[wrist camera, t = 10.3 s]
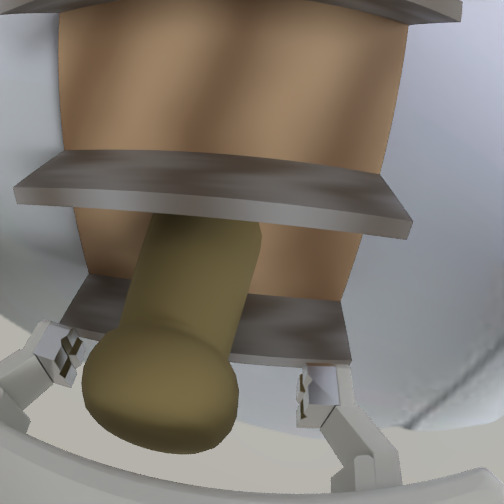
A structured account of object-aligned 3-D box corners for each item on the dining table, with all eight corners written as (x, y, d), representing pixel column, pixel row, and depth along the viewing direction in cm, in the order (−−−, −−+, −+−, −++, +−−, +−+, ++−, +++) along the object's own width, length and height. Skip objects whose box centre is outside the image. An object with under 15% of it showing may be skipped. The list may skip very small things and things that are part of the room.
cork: (163, 281, 19) (105, 454, 10) (138, 190, 16) (19, 371, 7) (265, 280, 19) (255, 475, 10) (258, 181, 15) (236, 403, 6)
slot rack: (400, 11, 11) (462, 2, 6) (334, 297, 21) (347, 369, 16) (73, 0, 10) (-1, -3, 6) (98, 271, 21) (63, 332, 16)
